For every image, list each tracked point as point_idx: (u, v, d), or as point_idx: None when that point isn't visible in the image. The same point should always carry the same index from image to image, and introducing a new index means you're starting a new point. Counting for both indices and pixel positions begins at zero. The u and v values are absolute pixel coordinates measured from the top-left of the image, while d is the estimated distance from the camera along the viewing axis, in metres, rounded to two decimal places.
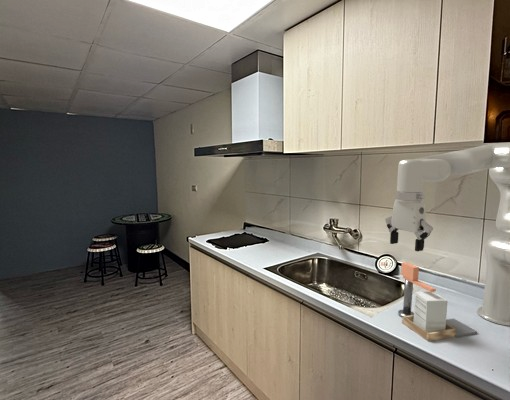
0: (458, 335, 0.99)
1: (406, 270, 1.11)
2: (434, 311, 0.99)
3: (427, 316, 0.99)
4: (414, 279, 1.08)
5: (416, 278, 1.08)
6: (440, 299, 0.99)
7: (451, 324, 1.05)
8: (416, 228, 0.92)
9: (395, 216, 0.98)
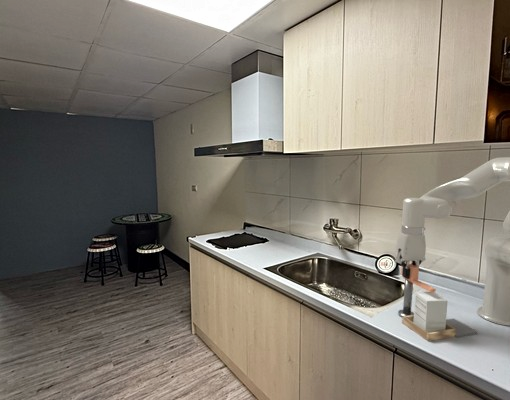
0: (458, 335, 0.99)
1: None
2: (434, 311, 0.99)
3: (427, 316, 0.99)
4: (414, 279, 1.08)
5: (416, 278, 1.08)
6: (440, 299, 0.99)
7: (451, 324, 1.05)
8: (424, 255, 1.09)
9: (409, 250, 1.07)
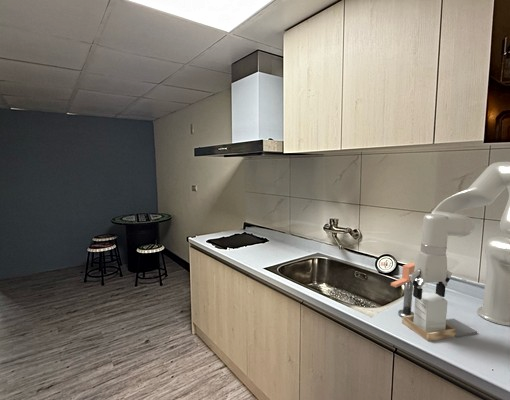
0: (458, 335, 0.99)
1: None
2: (434, 311, 0.99)
3: (427, 316, 0.99)
4: (404, 277, 1.10)
5: (406, 277, 1.09)
6: (440, 299, 0.99)
7: (451, 324, 1.05)
8: (446, 277, 1.00)
9: (429, 271, 0.98)
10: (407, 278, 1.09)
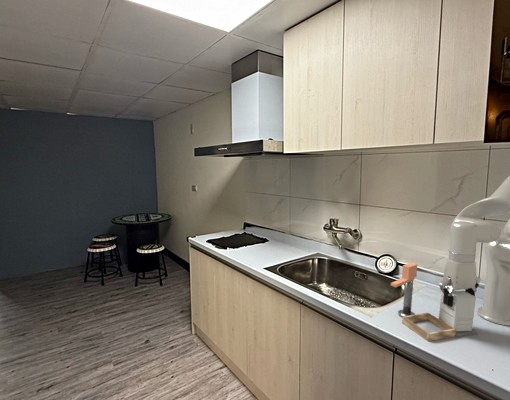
0: (458, 335, 0.99)
1: None
2: (463, 307, 0.99)
3: (456, 312, 0.99)
4: (404, 277, 1.10)
5: (406, 277, 1.09)
6: (469, 295, 1.00)
7: None
8: None
9: (460, 279, 0.99)
10: (407, 278, 1.09)
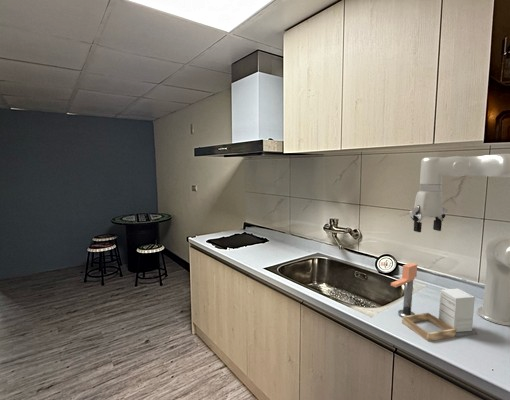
0: (458, 335, 0.99)
1: None
2: (462, 308, 0.99)
3: (455, 313, 0.99)
4: (404, 277, 1.10)
5: (406, 277, 1.09)
6: (467, 295, 1.00)
7: None
8: (442, 212, 1.14)
9: (427, 206, 1.12)
10: (407, 278, 1.09)
